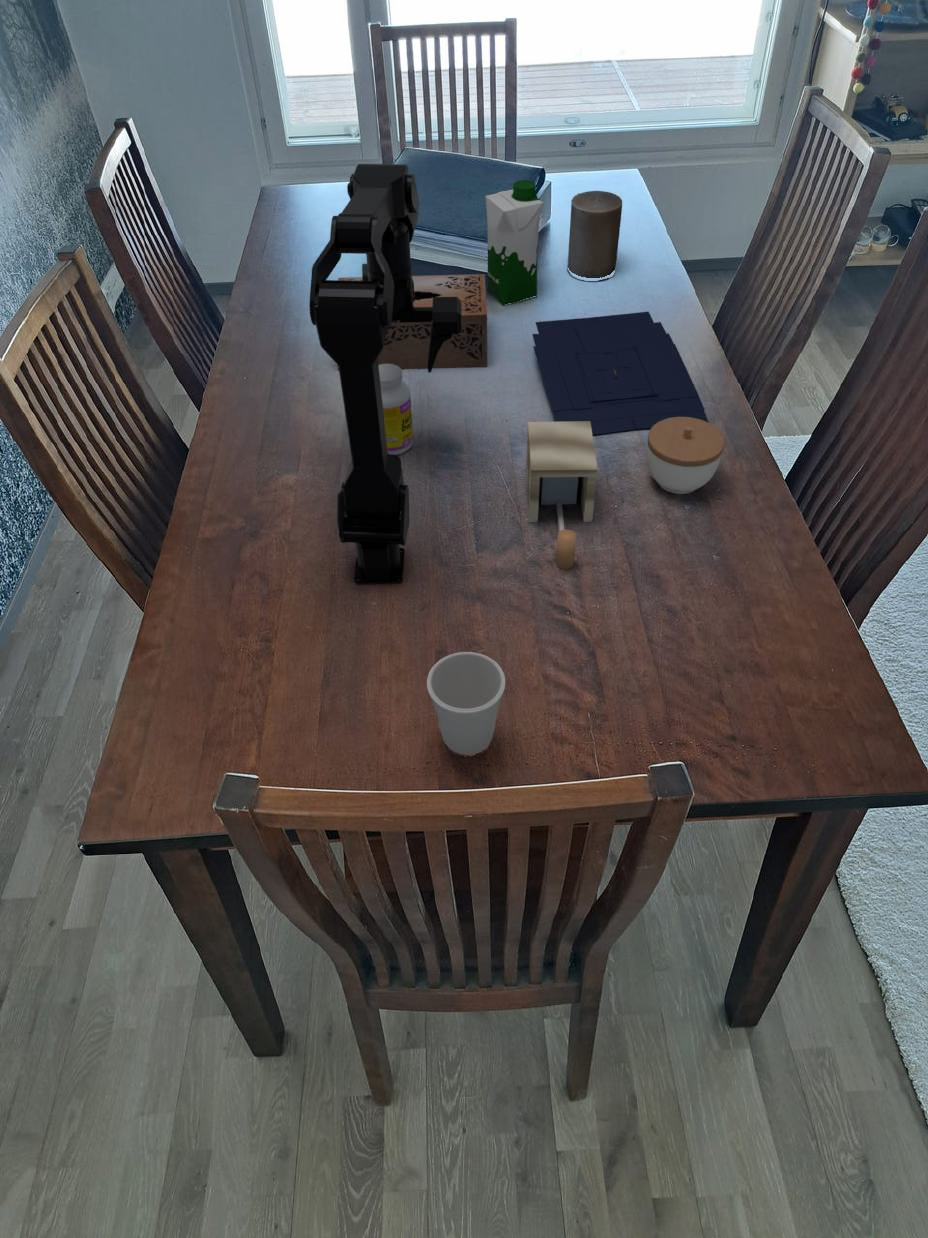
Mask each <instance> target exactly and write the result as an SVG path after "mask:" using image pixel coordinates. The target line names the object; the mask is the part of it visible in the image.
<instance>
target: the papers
mask: <svg viewBox="0 0 928 1238" xmlns="http://www.w3.org/2000/svg"><path fill="white" fill-rule="evenodd" d="M535 326H536V328H537V329H536V330H537V332H538V333H532V334H531V335H532V339H533V342H534V345H533V346H532V348H533V352H534V354H535V359H536V362H537V365H538V368H539V372H540V374H541V378H542V382H543V384H544V388H545V391H546V394H547V397H548V401H549V405H550V407H551V411H552V415H553V418H554V422H568V421H590V422H591V429H592V435H595V436H596V435H601V434H609V433H617V432H622V431H623V432H624V431H631V430H639V429H651V428H652V427H653V426H654V425H655V424H656V423H658V422H659V421H662V420H664V419H667V418H673V417H691V418H696V419H700V420H703V421H706V422H708V423H710V422H709V419H708V417H707V414H706V412H705V407H704V405H703V403H702V401H701V398H700V395H699V392H698V391H697V388H696V386H695V384H694V382H693V380H692V378H691V376H690V373H689V370H688V369H687V367H686V365H685V363H684V361H683V358H682V357H681V354H680V352H679V350H678V347H677V346H676V344H675V343H674V341H673V339H672V337H671V334H670V333H669V332H666V330H665V328H664V326H663V324H662V322H661V321H658V322H654V320H653V317H652V316H651V313H650V311H643V312H642V311H641V312H631V313H630V312H629V313H621V314H612V315H603V316H592V317H581V318H578V317H577V318H569V319H555V320H547V321H545V320H544V321H536V322H535Z"/></svg>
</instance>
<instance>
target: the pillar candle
mask: <svg viewBox="0 0 928 1238" xmlns="http://www.w3.org/2000/svg"><path fill="white" fill-rule="evenodd" d="M622 211H623V200H622V198H621V196H619V195H617V194H616V193H613V192H611V191H604V190H588V191H584V192H579V193H577V194H575V195H573V197H572V199H571V205H570V223H569V236H568V237H569V238H568V239H569V240H568V251H567V252H568V253H567V267H568V268H569V270H570V271H571V272H572V273H574V274H576V275H578V276H581V277H586V278H600V277H601V278H602V277H605V276H607V275H610V274H611V273H612V272H613V271H614V270H615V268H616V269H617V267H616V266H617V261H618V248H619V241H620V240H619V239H620V231H621V229H620V228H621V221H622Z"/></svg>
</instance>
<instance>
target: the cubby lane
mask: <svg viewBox="0 0 928 1238" xmlns="http://www.w3.org/2000/svg"><path fill="white" fill-rule="evenodd" d="M526 433H527V436H526V437H527V439H526V460H525V461H526V463H525V464H526V465H525V478H526V480H525V481H526V494H527V495H526V496H527V509H528V510H527V511H528V523H538V522H539V521H538V519H539V504H540V503H539V499H540V477H578V490H579V497H580V504H581V505H580V506H581V512H582V520H583V521H582V522H583V523H587V522H588V523H592V522H593V517H594V508H595V499H596V498H595V497H596V496H595V495H596V486H597V480H598V478H597V477H598V463H597V456H596V451H595V450H596V449H595V444H594V436H593V435H592V429H591V422H590V421H568V422H556V421H528V422H527V432H526Z"/></svg>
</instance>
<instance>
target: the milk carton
mask: <svg viewBox="0 0 928 1238" xmlns="http://www.w3.org/2000/svg"><path fill="white" fill-rule="evenodd" d="M512 185H513V187H512V188H513V189H510V190H508V189H507V190H502V191H498V192H497V193H493V194H487V195H485V207H486V220H487V221H486V222H487V291H488V292H489V291H490V292H491V293H490V292H489V293H490V294H491V295H492V296H493V295H494V296H495V297H496V298H497V299H498V300H499V301H500V302H499V301H498V300H497V299H496V300H497V301H498V302H499V303H500V304H501V305H502V306H504V305H505V304H508V303H513V302H517V301H520V300H523V299H526V298H530V297H533V296H536V295H538V255H539V251H538V250H539V234H540V233H539V230H540V220H541V215H542V209H543V206H544V202H543V201H542V200H541V199H540V197H539V198H538V195H537V194H536V192H537V191H536V188H537V186H536V183H535V181H532V180H527V179H523V180H517V181H515V182H514V183H513V184H512ZM494 296H493V297H494ZM495 297H494V298H495ZM517 303H518V302H517ZM513 304H514V303H513ZM505 306H506V305H505Z"/></svg>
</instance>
